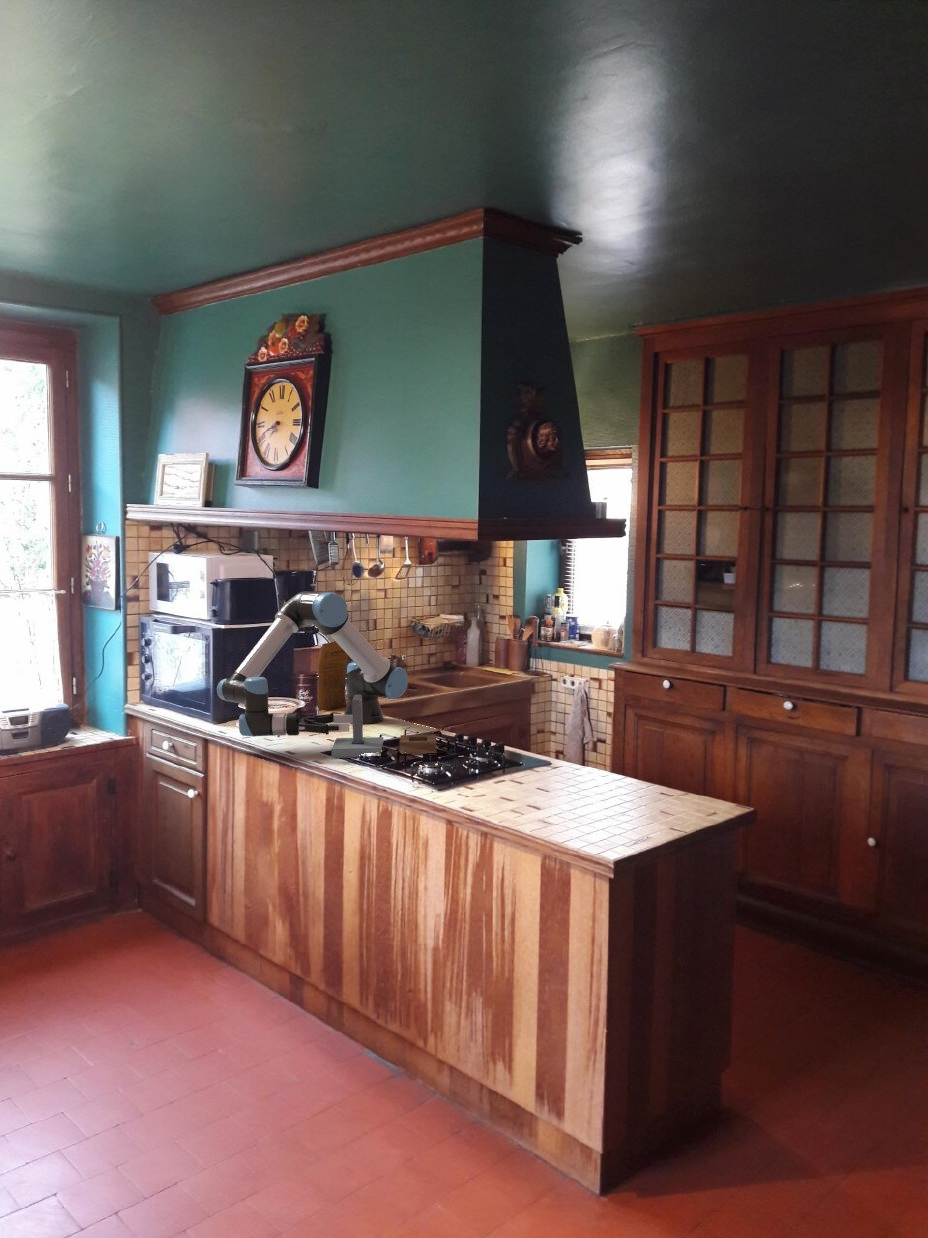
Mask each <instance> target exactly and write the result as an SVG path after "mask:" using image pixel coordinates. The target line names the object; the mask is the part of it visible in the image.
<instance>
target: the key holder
mask: <svg viewBox="0 0 928 1238" xmlns="http://www.w3.org/2000/svg"><path fill="white" fill-rule="evenodd" d="M400 750H403V751H405V752H406V753H408V754H427V753H436V754H437V734H400V738H399V751H400Z"/></svg>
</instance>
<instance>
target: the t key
mask: <svg viewBox="0 0 928 1238" xmlns="http://www.w3.org/2000/svg"><path fill="white" fill-rule="evenodd" d="M352 712H353V724H352V738H353V744H363V738H364V733H363V732H364V728H363V725H364V724H363V721H362V695H354V697H353V699H352Z"/></svg>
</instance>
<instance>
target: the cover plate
mask: <svg viewBox="0 0 928 1238" xmlns="http://www.w3.org/2000/svg"><path fill="white" fill-rule="evenodd" d="M384 741H385V740H384V736H382V737H381V736H379V737H378V736H375V737H374V736H373V737H369V736H367V737H366V736H365V737H363V744H353V737H337V738H335V741H334V743H333V744H332V747H331V758H332V759H337V758H338V759H339V758H340V759H342V758H345V759H346V758H347V759H348V758H350V759H351V758H359V757H358V756H359V755H361V754H364V753H371V752H381V750H382V747H383V748H384V746H383V742H384Z"/></svg>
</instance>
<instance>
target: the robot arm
mask: <svg viewBox="0 0 928 1238" xmlns="http://www.w3.org/2000/svg"><path fill="white" fill-rule="evenodd" d="M305 625H314V626H315V627H316V628H317V629H318V630H319V631H320V632H321V634H322V635H323V636H330V637H331V638H332V639H333V641H336V642H337V643H338V645H339V646H340V647H341V648H342V649H343V650H344V651H345V652H346V653H347V655H348V658H350V659H351V660H352V661H353V662H348V666H347V672H346V685H347V687H346V688H347V701H346V706H345V710H344V713H343V714H334V712H330V713H328V714H326V713H325V714H318V715H305V716H303V718H300V717H301V716H300V714H299V712H288V713H286V712H273V713H272V712H269V688H268V687H269V686H268V679H267V678H265V677H264V676H261V675H262V674H263V672H264V671H265V669H266V668H267V667H268V665H269V664H270V663H271V661H272V660H273V659H274V657H276V655H277V654H278V652H279V651H280V650H281V649H282V648H283V646H284V645H285V643H286V642H287V641H288V639H289V638H290V637H291V635H292V634H293V633H297V632H298V631H299V629H301V628H302V627H303V626H305ZM408 682H409V676H408V673H407V671H406V670H405V669H404V668H402V667H400V666H395V665H394V664H393V662H392V661H391V660H390V659H389V658H387V657H385V656H381V655H380V654H379V653H378V652H377V651H376V649H375V648H374V647H373V646H372V645H371V644H370V642H369V641H368V640H367V639H366V638H365V637H364V636H363V634H362V633H361V632H360V631H359V630H358V629H357V628H356V626H354V624H353V623H352V622H351V621H350V613H349V610H348V603H347V602H346V600H345V599H344V598H343V596H341V595H339V594H338V593H334V592H330V591H311V590H310V591H309V590H307V591H301V592H298V593H297V594H295V595H294V596H292V597H291V598H289V599H288V600H287V601H286V602H285V603H284V604H283V605H282V606H281V607H280V608H279V610H278V611H277V612H276V614H275V615H274V621H273V622H272V624H271V625H270V626H269V628H267V630H266V631H265V633H263V635H262V637H260V639H259V640H258V642H257V643H256V644H255V645H254V646H253V648H252V649H251V651H250V652H249V653H248V655H247V656H246V657H245V658H244V659H243V661H242V662H241V663H240V665H239V666H238V667H237V669H235V671H234V673H232V675H231V676H230V677H229V678H224V679H221V680H220V681H219V682H218V684H217V686H216V693H217V696H218V697H219V699H221V700H223V701H225V702H228V703H237V704H240V705H245V706H244V707H245V712H244V713H241V714H240V715H239V716H238V717H239V719H238V730H239V733H240V735H241V736H243V737H276V736H277V738H280V737H281V736H283V737H284V736H289V737H290V736H299V734H300V733H301V732H302V733H313V734H314V733H315V734H322V735H323V734H324V735H329V734H330V733H350V724H352V725H353V712H352V699H353V697H354V695H362V721H363V725H365V724H366V725H367V724H375V723H380V722H382V721H383V720H384V713H383V710H382V707H381V705H380V701H379V697H382V698H388V699H398V698H400V697H401V696H403V694H404V693H405V692H406V690H407V688H408V685H409V683H408Z"/></svg>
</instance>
